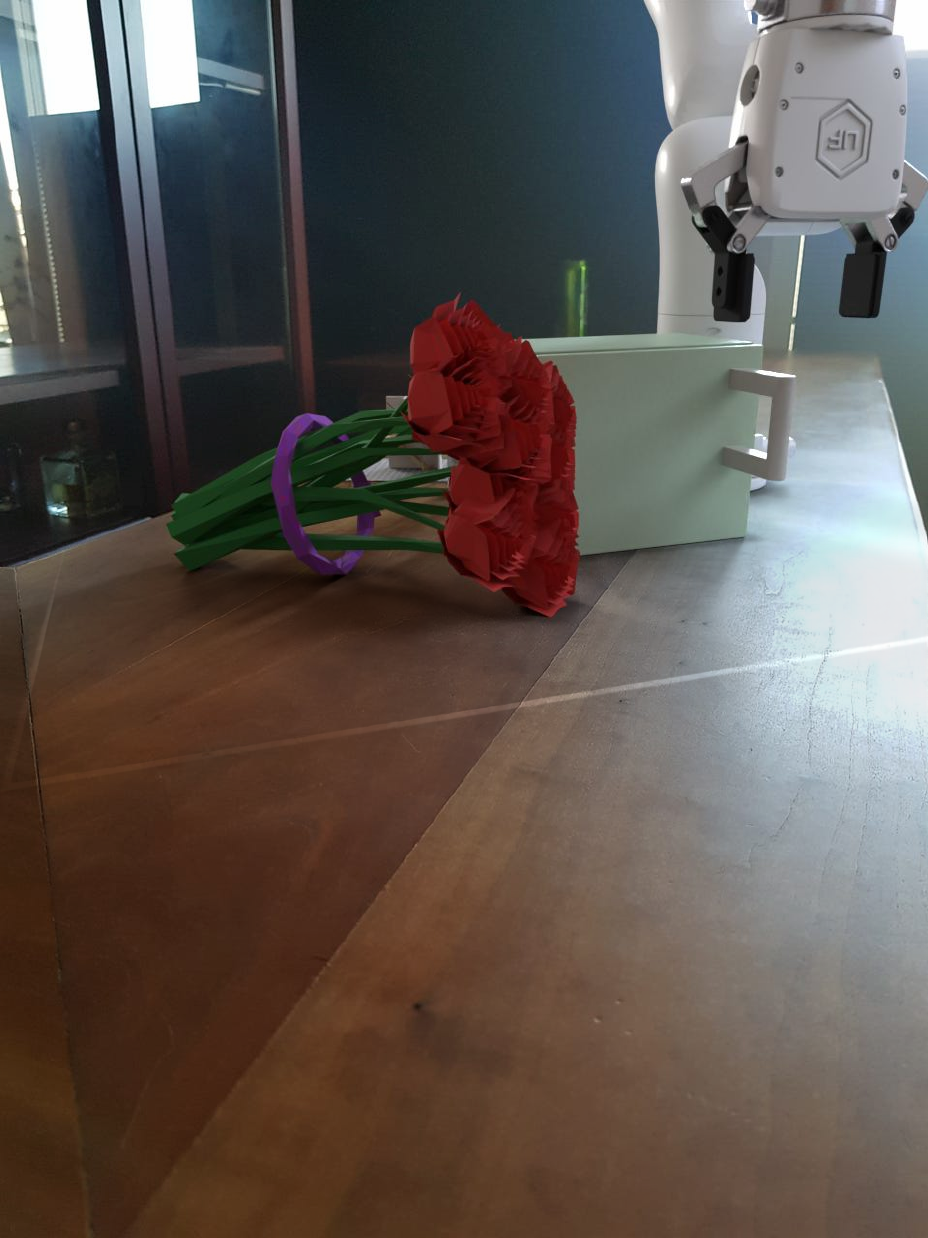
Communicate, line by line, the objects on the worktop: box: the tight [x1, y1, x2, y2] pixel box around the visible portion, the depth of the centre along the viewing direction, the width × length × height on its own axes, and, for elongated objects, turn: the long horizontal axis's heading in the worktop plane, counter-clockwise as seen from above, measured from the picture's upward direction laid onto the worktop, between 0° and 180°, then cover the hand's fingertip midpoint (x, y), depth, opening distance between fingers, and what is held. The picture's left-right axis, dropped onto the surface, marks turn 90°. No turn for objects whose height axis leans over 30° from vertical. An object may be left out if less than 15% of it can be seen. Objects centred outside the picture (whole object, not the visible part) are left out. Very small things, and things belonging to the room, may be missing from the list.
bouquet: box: [165, 292, 580, 618], centre depth 63 cm, size 20×16×30 cm
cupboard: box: [522, 333, 754, 355], centre depth 74 cm, size 11×18×15 cm, turn 108°
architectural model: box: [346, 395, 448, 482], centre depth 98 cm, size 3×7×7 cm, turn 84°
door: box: [536, 344, 797, 557], centre depth 66 cm, size 7×18×14 cm, turn 108°
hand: (795, 319), depth 61 cm, fingers open, 9 cm apart
